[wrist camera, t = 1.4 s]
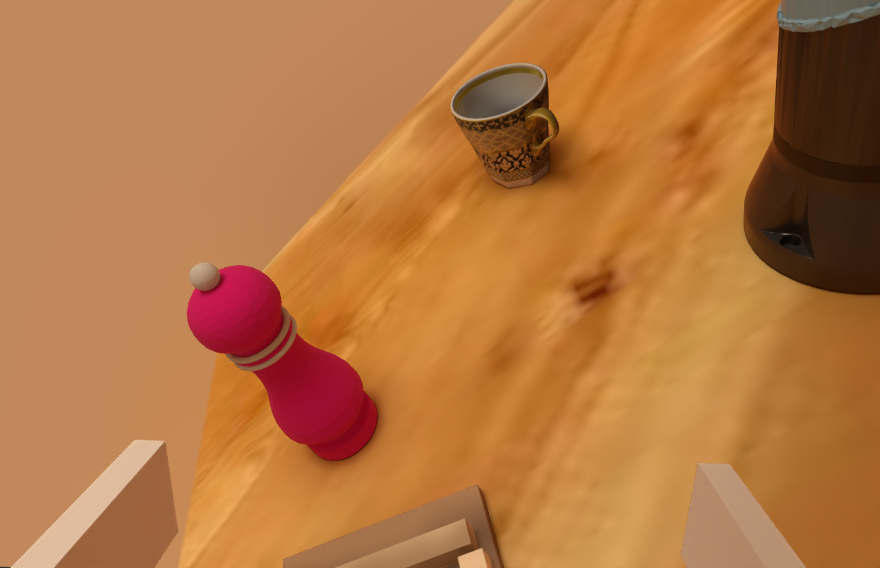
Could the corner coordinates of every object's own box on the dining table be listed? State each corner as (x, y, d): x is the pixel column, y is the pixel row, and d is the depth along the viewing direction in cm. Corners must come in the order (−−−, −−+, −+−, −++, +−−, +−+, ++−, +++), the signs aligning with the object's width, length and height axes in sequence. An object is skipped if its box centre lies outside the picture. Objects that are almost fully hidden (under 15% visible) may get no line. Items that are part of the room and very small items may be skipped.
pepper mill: (377, 377, 51) (250, 210, 37) (389, 446, 46) (247, 281, 32) (304, 408, 51) (153, 254, 38) (308, 480, 46) (134, 331, 33)
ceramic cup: (462, 180, 66) (431, 106, 60) (524, 132, 69) (502, 55, 62) (537, 221, 57) (511, 138, 51) (607, 164, 59) (591, 77, 53)
